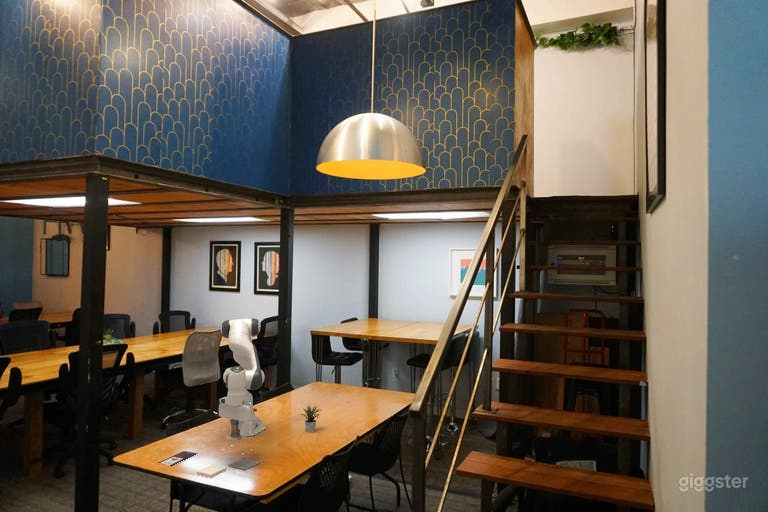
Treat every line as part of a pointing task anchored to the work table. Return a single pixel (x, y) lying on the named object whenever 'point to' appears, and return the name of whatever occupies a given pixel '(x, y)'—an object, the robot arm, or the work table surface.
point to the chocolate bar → (177, 458)
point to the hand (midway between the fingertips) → (235, 428)
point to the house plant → (310, 418)
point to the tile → (211, 471)
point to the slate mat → (244, 464)
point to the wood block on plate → (235, 431)
